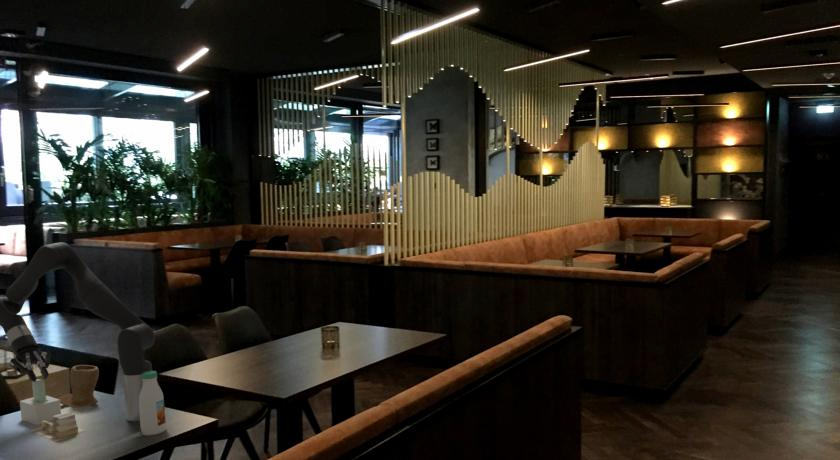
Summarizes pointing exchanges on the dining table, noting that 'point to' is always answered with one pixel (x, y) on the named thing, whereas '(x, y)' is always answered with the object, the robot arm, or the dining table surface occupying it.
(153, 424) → the milk bottle
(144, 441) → the dining table surface
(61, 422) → the offcut stack
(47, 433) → the rack
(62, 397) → the stone cup
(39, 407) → the sheet stand
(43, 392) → the tall sheet
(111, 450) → the dining table surface
